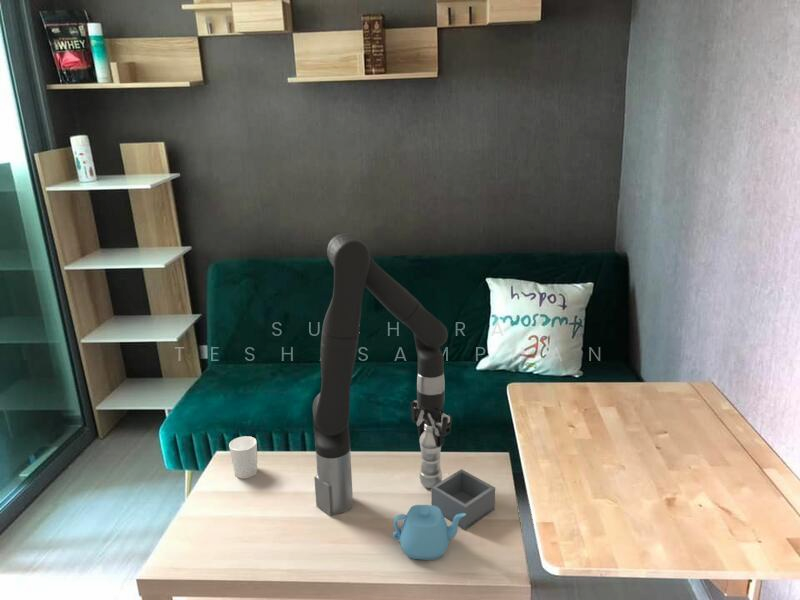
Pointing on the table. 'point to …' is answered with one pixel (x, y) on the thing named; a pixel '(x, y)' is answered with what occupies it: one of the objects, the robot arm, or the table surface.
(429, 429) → the plastic bottle
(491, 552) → the table surface
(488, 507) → the gray square open box
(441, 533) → the teapot
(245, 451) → the white cup
